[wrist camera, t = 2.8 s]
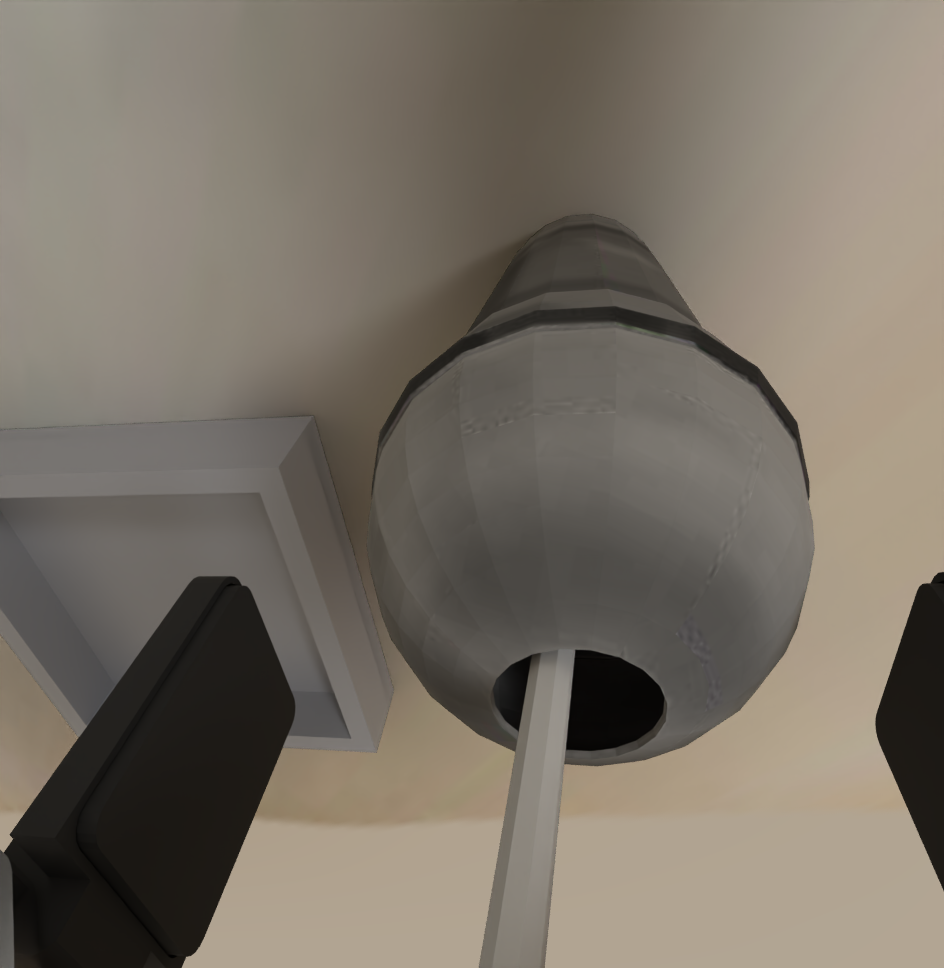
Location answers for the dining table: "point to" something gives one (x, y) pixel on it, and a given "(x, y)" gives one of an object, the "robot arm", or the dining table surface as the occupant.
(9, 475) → the tray
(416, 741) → the dining table surface
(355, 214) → the dining table surface
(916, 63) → the dining table surface
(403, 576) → the beverage cup
